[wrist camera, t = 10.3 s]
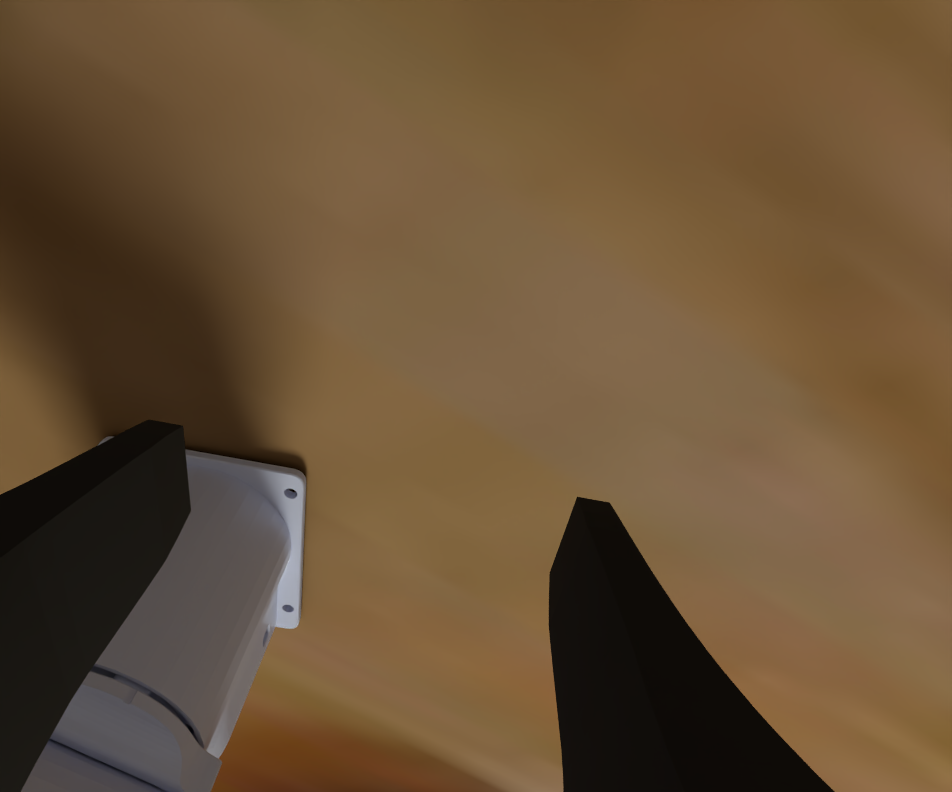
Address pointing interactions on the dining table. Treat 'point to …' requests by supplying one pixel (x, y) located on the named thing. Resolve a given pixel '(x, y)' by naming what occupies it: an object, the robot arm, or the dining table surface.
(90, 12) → the dining table surface
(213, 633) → the robot arm
